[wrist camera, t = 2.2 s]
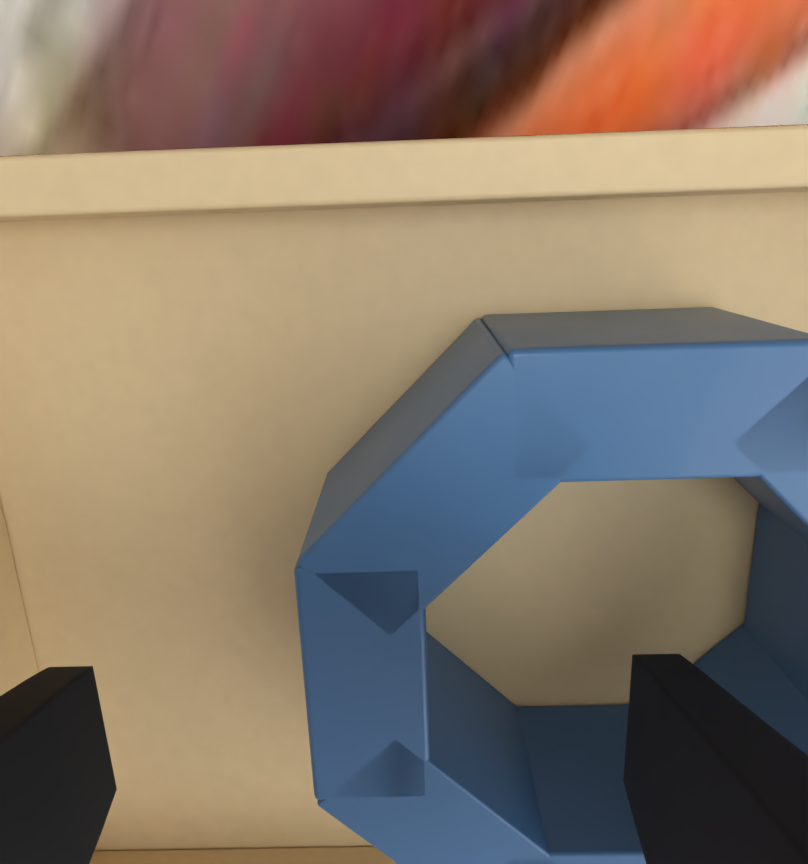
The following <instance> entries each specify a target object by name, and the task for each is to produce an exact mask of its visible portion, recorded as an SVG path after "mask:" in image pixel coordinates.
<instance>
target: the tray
mask: <svg viewBox="0 0 808 864" xmlns="http://www.w3.org/2000/svg"><path fill="white" fill-rule="evenodd" d="M697 307H714V308H718V309H722V310H725V311H729V312H733V313H736V314H740V315H744V316H747V317H751V318H755V319H758V320H762V321H765V322H769V323H773V324H776V325H780V326H784V327H787V328H791V329H795V330H798V331H802V332H806V333H808V124H806V125H780V126H755V127H730V128H704V129H679V130H653V131H628V132H603V133H577V134H552V135H526V136H501V137H476V138H450V139H425V140H399V141H374V142H348V143H323V144H298V145H272V146H247V147H221V148H196V149H171V150H145V151H120V152H94V153H69V154H44V155H18V156H0V696H1V695H3V694H4V693H6V692H7V691H9V690H11V689H12V688H14V687H15V686H17V685H19V684H20V683H22V682H23V681H25V680H27V679H28V678H30V677H32V676H33V675H35V674H37V673H39V672H40V671H42V670H44V669H46V668H47V667H70V666H93V670H94V675H95V680H96V685H97V690H98V695H99V700H100V705H101V711H102V716H103V721H104V726H105V731H106V736H107V741H108V746H109V752H110V757H111V762H112V767H113V772H114V777H115V782H116V787H117V790H116V793H115V796H114V799H113V801H112V804H111V807H110V810H109V813H108V815H107V818H106V821H105V824H104V827H103V830H102V832H101V835H100V838H99V840H98V843H97V845H96V848H95V850H94V853H93V856H92V858H91V861H90V863H89V864H397V863H396V862H394V861H393V860H392V859H390V858H389V857H388V856H386V855H385V854H383V853H382V852H381V851H379V850H378V849H377V848H375V847H374V846H372V845H371V844H370V843H368V842H367V841H366V840H364V839H363V838H362V837H360V836H359V835H357V834H356V833H355V832H353V831H352V830H351V829H349V828H348V827H347V826H345V825H344V824H342V823H341V822H340V821H338V820H337V819H336V818H334V817H333V816H332V815H330V814H329V813H327V812H326V811H325V810H323V809H322V808H321V807H319V806H318V804H317V801H318V799H316V797H315V795H314V788H313V777H312V766H311V755H310V744H309V732H308V721H307V710H306V699H305V688H304V677H303V666H302V655H301V644H300V633H299V622H298V611H297V600H296V589H295V578H294V569H295V566H296V563H297V560H298V557H299V554H300V551H301V548H302V545H303V543H304V540H305V537H306V534H307V531H308V528H309V525H310V522H311V519H312V516H313V514H314V511H315V508H316V505H317V502H318V499H319V496H320V493H321V490H322V487H323V485H324V482H325V479H326V476H327V473H328V472H329V471H330V470H331V469H332V468H333V467H334V466H335V465H336V464H337V463H338V462H339V461H340V460H341V458H342V457H343V456H344V455H345V454H346V453H347V452H348V451H349V450H350V449H351V448H352V447H353V446H354V445H355V444H356V443H357V442H358V441H359V440H360V439H361V438H362V437H363V436H364V435H365V433H366V432H367V431H368V430H369V429H370V428H371V427H372V426H373V425H374V424H375V423H376V422H377V421H378V420H379V419H380V418H381V417H382V416H383V415H384V414H385V413H386V412H387V411H388V410H389V408H390V407H391V406H392V405H393V404H394V403H395V402H396V401H397V400H398V399H399V398H400V397H401V396H402V395H403V394H404V393H405V392H406V391H407V390H408V389H409V388H410V387H411V386H412V385H413V384H414V382H415V381H416V380H417V379H418V378H419V377H420V376H421V375H422V374H423V373H424V372H425V371H426V370H427V369H428V368H429V367H430V366H431V365H432V364H433V363H434V362H435V361H436V360H437V359H438V357H439V356H440V355H441V354H442V353H443V352H444V351H445V350H446V349H447V348H448V347H449V346H450V345H451V344H452V343H453V342H454V341H455V340H456V339H457V338H458V337H459V336H460V335H461V334H462V332H463V331H464V330H465V329H466V328H467V327H468V326H469V325H470V324H471V323H472V322H473V321H474V320H475V319H478V318H479V319H482V317H483V316H485V315H489V314H518V313H548V312H578V311H608V310H637V309H667V308H697ZM758 506H759V502H758V501H757V500H756V499H755V498H754V497H753V496H752V495H751V494H750V493H749V492H748V491H747V490H746V489H745V488H744V487H743V486H742V485H741V484H740V483H739V482H738V481H737V480H736V479H735V478H734V477H729V478H693V479H658V480H622V481H586V482H560V483H559V484H558V485H557V486H556V487H555V488H554V489H553V490H552V491H551V492H549V493H548V494H547V495H546V496H545V497H544V498H543V499H542V500H541V501H540V502H539V503H538V504H537V505H536V506H534V507H533V508H532V509H531V510H530V511H529V512H528V513H527V514H526V515H525V516H524V517H523V518H522V519H520V520H519V521H518V522H517V523H516V524H515V525H514V526H513V527H512V528H511V529H510V530H509V531H508V532H506V533H505V534H504V535H503V536H502V537H501V538H500V539H499V540H498V541H497V542H496V543H495V544H494V545H493V546H491V547H490V548H489V549H488V550H487V551H486V552H485V553H484V554H483V555H482V556H481V557H480V558H479V559H477V560H476V561H475V562H474V563H473V564H472V565H471V566H470V567H469V568H468V569H467V570H466V571H465V572H464V573H462V574H461V575H460V576H459V577H458V578H457V579H456V580H455V581H454V582H453V583H452V584H451V585H450V586H448V587H447V588H446V589H445V590H444V591H443V592H442V593H441V594H440V595H439V596H438V597H437V598H436V599H435V600H433V601H432V602H431V603H430V604H429V605H428V606H427V607H426V632H428V633H429V634H430V635H431V636H432V637H434V638H435V639H436V640H437V641H438V642H440V643H441V644H442V645H443V646H444V647H446V648H447V649H448V650H449V651H450V652H452V653H453V654H454V655H455V656H457V657H458V658H459V659H460V660H461V661H463V662H464V663H465V664H466V665H467V666H469V667H470V668H471V669H472V670H473V671H475V672H476V673H477V674H478V675H479V676H481V677H482V678H483V679H484V680H485V681H487V682H488V683H489V684H490V685H492V686H493V687H494V688H495V689H496V690H498V691H499V692H500V693H501V694H502V695H504V696H505V697H506V698H507V699H508V700H510V701H511V702H512V703H513V704H514V705H516V706H517V707H525V706H573V705H621V704H629V694H630V681H631V667H632V655H634V654H680V655H682V656H683V657H684V658H686V659H687V660H688V661H690V662H691V663H692V664H693V663H695V662H696V661H697V660H698V659H700V658H701V657H702V656H703V655H705V654H706V653H707V652H708V651H710V650H711V649H712V648H713V647H715V646H716V645H717V644H718V643H720V642H721V641H722V640H723V639H725V638H726V637H727V636H728V635H730V634H731V633H732V632H733V631H734V630H736V629H737V628H738V627H739V626H741V625H742V624H743V623H744V619H745V611H746V603H747V595H748V587H749V579H750V571H751V563H752V555H753V547H754V539H755V530H756V522H757V514H758Z"/></svg>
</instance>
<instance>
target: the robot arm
mask: <svg viewBox="0 0 808 864" xmlns="http://www.w3.org/2000/svg"><path fill="white" fill-rule="evenodd" d="M623 781H624V785H625V789H626V793H627V796H628V800H629V804H630V808H631V811H632V815H633V819H634V823H635V826H636V830H637V833H638V837H639V840H640V844H641V847H642V850H643V854H644V857H645V861H646V864H808V755H807V754H805V753H804V752H803V751H802V750H800V749H799V748H798V747H796V746H795V745H794V744H793V743H791V742H790V741H789V740H787V739H786V738H785V737H784V736H782V735H781V734H780V733H779V732H777V731H776V730H775V729H773V728H772V727H771V726H770V725H768V724H767V723H766V722H765V721H763V720H762V719H761V718H760V717H758V716H757V715H756V714H755V713H753V712H752V711H751V710H750V709H748V708H747V707H746V706H745V705H743V704H742V703H741V702H740V701H738V700H737V699H736V698H735V697H734V696H732V695H731V694H730V693H729V692H727V691H726V690H725V689H724V688H722V687H721V686H720V685H719V684H717V683H716V682H715V681H714V680H713V679H711V678H710V677H709V676H708V675H706V674H705V673H704V672H703V671H701V670H700V669H699V668H698V667H696V666H695V665H694V664H692V663H691V662H690V661H688V660H687V659H686V658H684V657H683V656H682V655H680V654H634V655H632V667H631V681H630V694H629V708H628V722H627V736H626V750H625V764H624V778H623ZM116 790H117V787H116V782H115V777H114V772H113V767H112V762H111V757H110V752H109V746H108V741H107V736H106V731H105V726H104V721H103V716H102V711H101V705H100V700H99V695H98V690H97V685H96V680H95V675H94V670H93V666H70V667H47V668H46V669H44V670H42V671H40V672H39V673H37V674H35V675H33V676H32V677H30V678H28V679H27V680H25V681H23V682H22V683H20V684H19V685H17V686H15V687H14V688H12V689H11V690H9V691H7V692H6V693H4V694H3V695H1V696H0V864H89V863H90V861H91V858H92V856H93V853H94V850H95V848H96V845H97V843H98V840H99V838H100V835H101V832H102V830H103V827H104V824H105V821H106V818H107V815H108V813H109V810H110V807H111V804H112V801H113V799H114V796H115V793H116Z"/></svg>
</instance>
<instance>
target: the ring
mask: <svg viewBox="0 0 808 864" xmlns="http://www.w3.org/2000/svg"><path fill="white" fill-rule="evenodd" d="M729 477H734V478H735V479H736V480H737V481H738V482H739V483H740V484H741V485H742V486H743V487H744V488H745V489H746V490H747V491H748V492H749V493H750V494H751V495H752V496H753V497H754V498H755V499H756V500H757V501H758V502H759V506H758V514H757V522H756V530H755V539H754V547H753V555H752V563H751V571H750V579H749V587H748V595H747V603H746V611H745V619H744V623H743V624H742V625H741V626H739V627H738V628H737V629H736V630H734V631H733V632H732V633H731V634H730V635H728V636H727V637H726V638H725V639H723V640H722V641H721V642H720V643H718V644H717V645H716V646H715V647H713V648H712V649H711V650H710V651H708V652H707V653H706V654H705V655H703V656H702V657H701V658H700V659H698V660H697V661H696V662H695V663H693V664H694V665H695V666H696V667H698V668H699V669H700V670H701V671H703V672H704V673H705V674H706V675H708V676H709V677H710V678H711V679H713V680H714V681H715V682H716V683H717V684H719V685H720V686H721V687H722V688H724V689H725V690H726V691H727V692H729V693H730V694H731V695H732V696H734V697H735V698H736V699H737V700H738V701H740V702H741V703H742V704H743V705H745V706H746V707H747V708H748V709H750V710H751V711H752V712H753V713H755V714H756V715H757V716H758V717H760V718H761V719H762V720H763V721H765V722H766V723H767V724H768V725H770V726H771V727H772V728H773V729H775V730H776V731H777V732H779V733H780V734H781V735H782V736H784V737H785V738H786V739H787V740H789V741H790V742H791V743H793V744H794V745H795V746H796V747H798V748H799V749H800V750H802V751H803V752H804V753H805V754H807V755H808V333H806V332H802V331H798V330H795V329H791V328H787V327H784V326H780V325H776V324H773V323H769V322H765V321H762V320H758V319H755V318H751V317H747V316H744V315H740V314H736V313H733V312H729V311H725V310H722V309H718V308H714V307H697V308H667V309H637V310H608V311H578V312H548V313H518V314H489V315H485V316H483V317H482V319H479V318H478V319H475V320H474V321H473V322H472V323H471V324H470V325H469V326H468V327H467V328H466V329H465V330H464V331H463V332H462V334H461V335H460V336H459V337H458V338H457V339H456V340H455V341H454V342H453V343H452V344H451V345H450V346H449V347H448V348H447V349H446V350H445V351H444V352H443V353H442V354H441V355H440V356H439V357H438V359H437V360H436V361H435V362H434V363H433V364H432V365H431V366H430V367H429V368H428V369H427V370H426V371H425V372H424V373H423V374H422V375H421V376H420V377H419V378H418V379H417V380H416V381H415V382H414V384H413V385H412V386H411V387H410V388H409V389H408V390H407V391H406V392H405V393H404V394H403V395H402V396H401V397H400V398H399V399H398V400H397V401H396V402H395V403H394V404H393V405H392V406H391V407H390V408H389V410H388V411H387V412H386V413H385V414H384V415H383V416H382V417H381V418H380V419H379V420H378V421H377V422H376V423H375V424H374V425H373V426H372V427H371V428H370V429H369V430H368V431H367V432H366V433H365V435H364V436H363V437H362V438H361V439H360V440H359V441H358V442H357V443H356V444H355V445H354V446H353V447H352V448H351V449H350V450H349V451H348V452H347V453H346V454H345V455H344V456H343V457H342V458H341V460H340V461H339V462H338V463H337V464H336V465H335V466H334V467H333V468H332V469H331V470H330V471H329V472H328V473H327V476H326V479H325V482H324V485H323V487H322V490H321V493H320V496H319V499H318V502H317V505H316V508H315V511H314V514H313V516H312V519H311V522H310V525H309V528H308V531H307V534H306V537H305V540H304V543H303V545H302V548H301V551H300V554H299V557H298V560H297V563H296V566H295V569H294V578H295V589H296V600H297V611H298V622H299V633H300V644H301V655H302V666H303V677H304V688H305V699H306V710H307V721H308V732H309V744H310V755H311V766H312V777H313V788H314V795H315V797H316V799H318V801H317V804H318V806H319V807H321V808H322V809H323V810H325V811H326V812H327V813H329V814H330V815H332V816H333V817H334V818H336V819H337V820H338V821H340V822H341V823H342V824H344V825H345V826H347V827H348V828H349V829H351V830H352V831H353V832H355V833H356V834H357V835H359V836H360V837H362V838H363V839H364V840H366V841H367V842H368V843H370V844H371V845H372V846H374V847H375V848H377V849H378V850H379V851H381V852H382V853H383V854H385V855H386V856H388V857H389V858H390V859H392V860H393V861H394V862H396V863H397V864H646V861H645V857H644V854H643V850H642V847H641V844H640V840H639V837H638V833H637V830H636V826H635V823H634V819H633V815H632V811H631V808H630V804H629V800H628V796H627V793H626V789H625V785H624V781H623V778H624V764H625V750H626V736H627V722H628V708H629V704H621V705H573V706H525V707H517V706H516V705H514V704H513V703H512V702H511V701H510V700H508V699H507V698H506V697H505V696H504V695H502V694H501V693H500V692H499V691H498V690H496V689H495V688H494V687H493V686H492V685H490V684H489V683H488V682H487V681H485V680H484V679H483V678H482V677H481V676H479V675H478V674H477V673H476V672H475V671H473V670H472V669H471V668H470V667H469V666H467V665H466V664H465V663H464V662H463V661H461V660H460V659H459V658H458V657H457V656H455V655H454V654H453V653H452V652H450V651H449V650H448V649H447V648H446V647H444V646H443V645H442V644H441V643H440V642H438V641H437V640H436V639H435V638H434V637H432V636H431V635H430V634H429V633H428V632H426V607H427V606H428V605H429V604H430V603H431V602H432V601H433V600H435V599H436V598H437V597H438V596H439V595H440V594H441V593H442V592H443V591H444V590H445V589H446V588H447V587H448V586H450V585H451V584H452V583H453V582H454V581H455V580H456V579H457V578H458V577H459V576H460V575H461V574H462V573H464V572H465V571H466V570H467V569H468V568H469V567H470V566H471V565H472V564H473V563H474V562H475V561H476V560H477V559H479V558H480V557H481V556H482V555H483V554H484V553H485V552H486V551H487V550H488V549H489V548H490V547H491V546H493V545H494V544H495V543H496V542H497V541H498V540H499V539H500V538H501V537H502V536H503V535H504V534H505V533H506V532H508V531H509V530H510V529H511V528H512V527H513V526H514V525H515V524H516V523H517V522H518V521H519V520H520V519H522V518H523V517H524V516H525V515H526V514H527V513H528V512H529V511H530V510H531V509H532V508H533V507H534V506H536V505H537V504H538V503H539V502H540V501H541V500H542V499H543V498H544V497H545V496H546V495H547V494H548V493H549V492H551V491H552V490H553V489H554V488H555V487H556V486H557V485H558V484H559V483H560V482H586V481H622V480H658V479H693V478H729Z"/></svg>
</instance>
